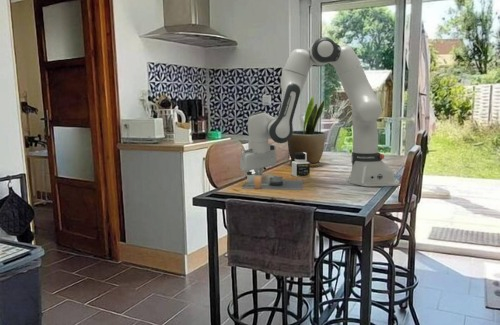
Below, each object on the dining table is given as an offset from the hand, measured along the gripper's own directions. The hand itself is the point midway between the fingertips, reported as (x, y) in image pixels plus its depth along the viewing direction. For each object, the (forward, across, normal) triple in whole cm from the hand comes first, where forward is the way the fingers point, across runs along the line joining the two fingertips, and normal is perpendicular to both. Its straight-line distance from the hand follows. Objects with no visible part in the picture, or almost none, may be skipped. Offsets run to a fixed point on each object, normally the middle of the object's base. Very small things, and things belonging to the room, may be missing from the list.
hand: (259, 177), depth 196 cm
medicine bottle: (+4, +30, 0) cm, 30 cm away
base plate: (+4, +2, -8) cm, 9 cm away
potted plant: (+4, +57, +18) cm, 59 cm away
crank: (+2, -1, -4) cm, 4 cm away
